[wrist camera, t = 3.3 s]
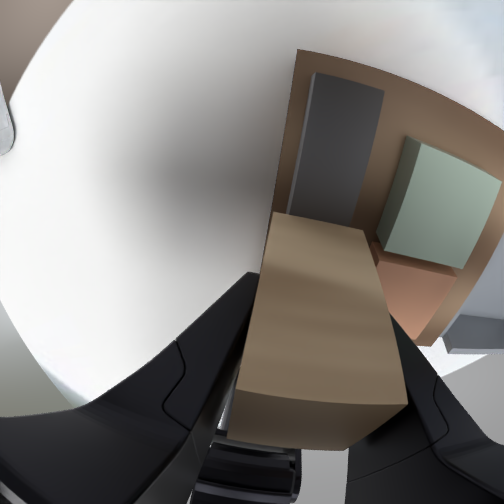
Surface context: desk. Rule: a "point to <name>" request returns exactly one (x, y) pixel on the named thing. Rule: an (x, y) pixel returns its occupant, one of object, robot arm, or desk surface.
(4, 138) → the white rounded block
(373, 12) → the desk surface
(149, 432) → the robot arm
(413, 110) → the brown flat block
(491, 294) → the box
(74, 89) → the desk surface
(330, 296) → the wood and gray t-block
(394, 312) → the terracotta tile
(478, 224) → the sage tile
